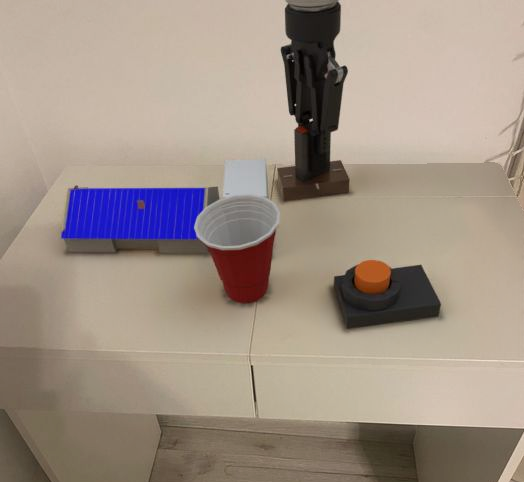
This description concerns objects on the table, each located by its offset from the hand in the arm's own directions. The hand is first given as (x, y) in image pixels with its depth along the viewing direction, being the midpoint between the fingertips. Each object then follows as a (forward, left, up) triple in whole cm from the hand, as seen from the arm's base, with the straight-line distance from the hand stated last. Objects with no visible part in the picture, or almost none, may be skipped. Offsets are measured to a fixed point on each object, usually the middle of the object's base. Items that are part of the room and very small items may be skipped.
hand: (312, 165), depth 91 cm
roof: (+28, +6, -4) cm, 29 cm away
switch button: (-2, +30, 0) cm, 30 cm away
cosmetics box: (+12, +12, -4) cm, 18 cm away
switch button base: (-4, +30, -4) cm, 31 cm away
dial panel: (0, 0, -4) cm, 4 cm away
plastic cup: (+14, +24, -4) cm, 28 cm away
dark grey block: (0, 0, -1) cm, 1 cm away
